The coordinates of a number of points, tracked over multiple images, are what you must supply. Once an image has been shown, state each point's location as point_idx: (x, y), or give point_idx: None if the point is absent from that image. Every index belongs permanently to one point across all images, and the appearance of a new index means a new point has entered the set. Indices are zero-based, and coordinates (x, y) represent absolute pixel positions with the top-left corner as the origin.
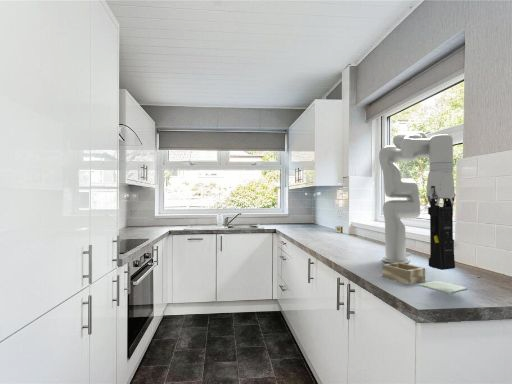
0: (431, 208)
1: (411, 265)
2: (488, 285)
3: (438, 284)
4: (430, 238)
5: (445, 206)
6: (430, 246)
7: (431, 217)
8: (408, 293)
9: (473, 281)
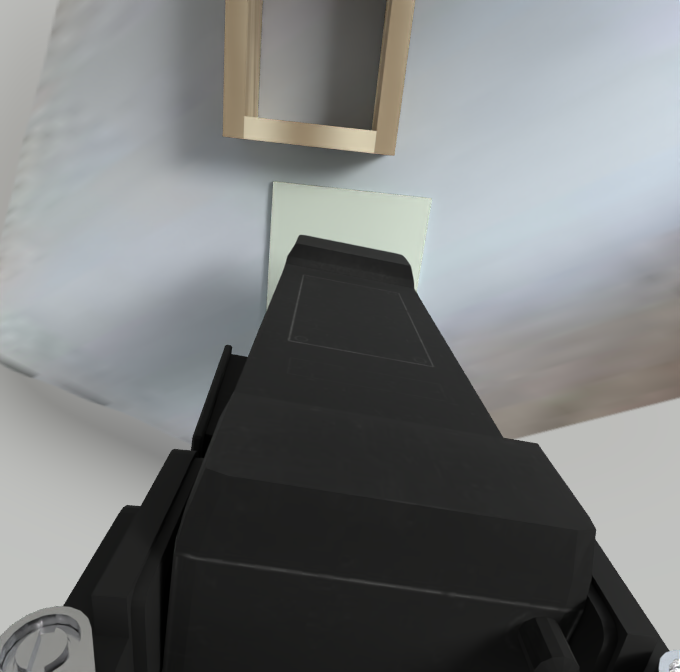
0: (85, 575)
1: (400, 47)
2: (552, 370)
3: (354, 244)
4: (269, 305)
5: (579, 645)
6: (278, 284)
7: (193, 440)
8: (101, 225)
9: (580, 306)
